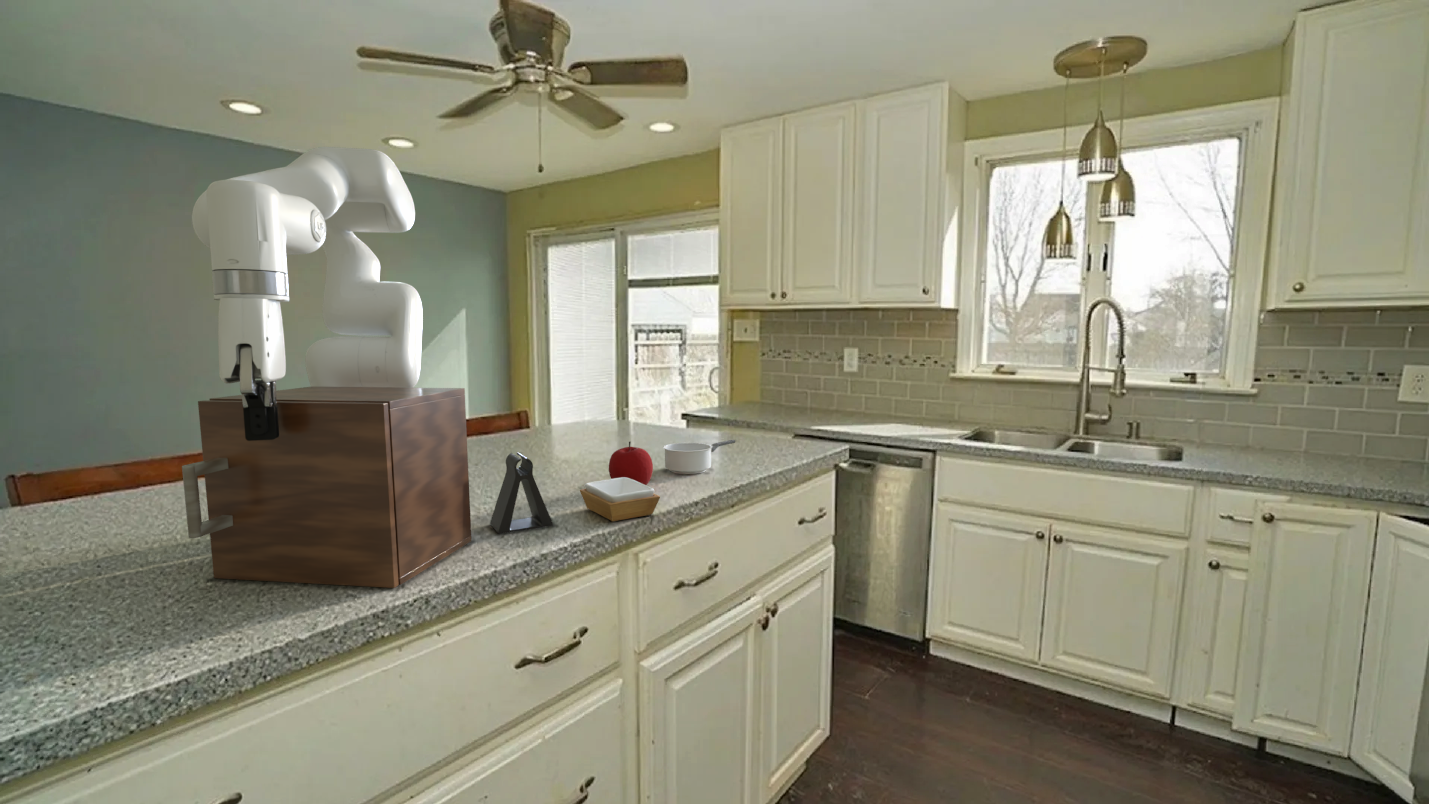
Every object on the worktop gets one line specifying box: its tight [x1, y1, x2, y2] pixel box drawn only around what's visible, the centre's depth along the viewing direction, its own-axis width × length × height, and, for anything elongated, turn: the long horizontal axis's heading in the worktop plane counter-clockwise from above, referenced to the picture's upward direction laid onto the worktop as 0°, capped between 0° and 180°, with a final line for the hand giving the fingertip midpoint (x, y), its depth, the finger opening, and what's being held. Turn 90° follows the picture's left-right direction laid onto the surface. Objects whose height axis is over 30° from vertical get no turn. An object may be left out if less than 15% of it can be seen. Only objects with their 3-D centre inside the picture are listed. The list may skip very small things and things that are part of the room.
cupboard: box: [208, 386, 472, 586], centre depth 96 cm, size 18×26×24 cm
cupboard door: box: [181, 399, 400, 589], centre depth 83 cm, size 6×26×24 cm, turn 82°
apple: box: [608, 441, 654, 486], centre depth 138 cm, size 9×9×10 cm
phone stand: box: [489, 452, 554, 535], centre depth 112 cm, size 9×6×12 cm, turn 120°
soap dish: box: [579, 477, 661, 523], centre depth 120 cm, size 12×10×5 cm
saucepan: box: [662, 439, 736, 475], centre depth 158 cm, size 12×20×6 cm, turn 130°
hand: (262, 439), depth 82 cm, fingers closed
